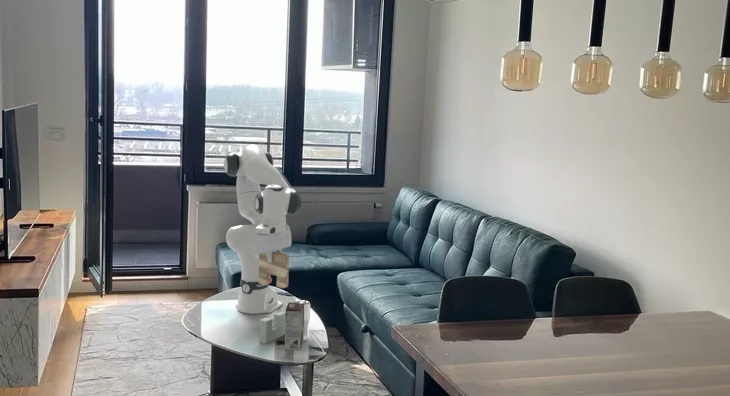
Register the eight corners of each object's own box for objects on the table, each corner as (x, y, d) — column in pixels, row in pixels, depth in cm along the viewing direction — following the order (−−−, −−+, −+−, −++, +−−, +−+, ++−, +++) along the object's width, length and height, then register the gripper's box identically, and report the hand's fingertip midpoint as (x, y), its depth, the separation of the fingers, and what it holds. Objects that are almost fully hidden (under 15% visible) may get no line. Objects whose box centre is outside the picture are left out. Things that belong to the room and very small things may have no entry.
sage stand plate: (279, 332, 283) (279, 311, 281) (285, 334, 281) (286, 312, 280) (259, 342, 270) (259, 320, 269) (265, 343, 269) (266, 321, 268)
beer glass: (306, 343, 272) (307, 306, 270) (289, 341, 273) (290, 304, 271) (311, 337, 278) (312, 301, 276) (295, 335, 280) (295, 299, 278)
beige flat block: (263, 282, 277) (263, 250, 275) (288, 286, 271) (288, 254, 270) (258, 283, 274) (259, 251, 272) (283, 288, 269) (284, 255, 267)
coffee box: (287, 341, 272) (288, 302, 270) (303, 342, 272) (304, 302, 270) (284, 349, 263) (285, 308, 261) (300, 350, 263) (302, 309, 261)
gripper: (282, 222, 280) (281, 255, 282) (252, 229, 262) (251, 264, 264) (295, 223, 278) (294, 257, 279) (266, 231, 259) (265, 267, 261)
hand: (273, 261), depth 272 cm, fingers closed on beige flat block, 3 cm apart
